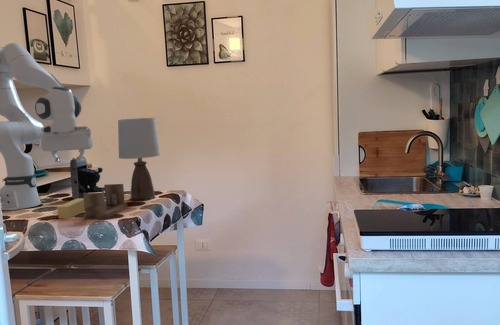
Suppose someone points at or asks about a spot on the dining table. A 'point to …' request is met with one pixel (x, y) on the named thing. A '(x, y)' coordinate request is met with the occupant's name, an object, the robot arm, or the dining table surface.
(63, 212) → the plank
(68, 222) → the dining table surface
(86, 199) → the brown u-shaped block
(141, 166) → the lamp
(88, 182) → the vintage camera
